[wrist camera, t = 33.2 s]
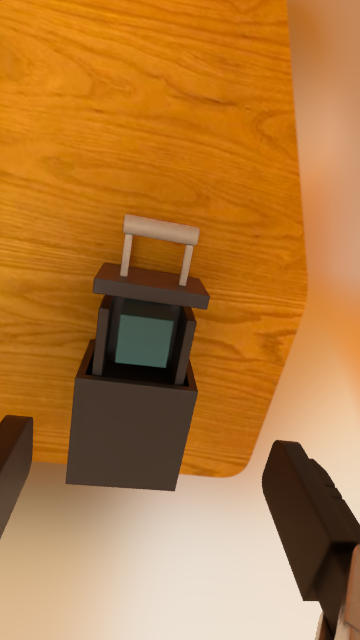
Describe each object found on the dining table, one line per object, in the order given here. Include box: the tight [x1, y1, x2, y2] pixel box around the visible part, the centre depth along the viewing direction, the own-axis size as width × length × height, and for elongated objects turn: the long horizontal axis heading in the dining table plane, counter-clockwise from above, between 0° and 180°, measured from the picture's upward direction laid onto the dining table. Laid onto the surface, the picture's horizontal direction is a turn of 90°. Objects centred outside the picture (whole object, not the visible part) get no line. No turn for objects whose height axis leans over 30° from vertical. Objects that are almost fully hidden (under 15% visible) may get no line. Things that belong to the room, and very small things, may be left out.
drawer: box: [92, 214, 210, 386], centre depth 30 cm, size 15×9×6 cm, turn 169°
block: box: [115, 299, 174, 368], centre depth 31 cm, size 4×4×4 cm
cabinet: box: [66, 340, 198, 491], centre depth 34 cm, size 11×10×8 cm
